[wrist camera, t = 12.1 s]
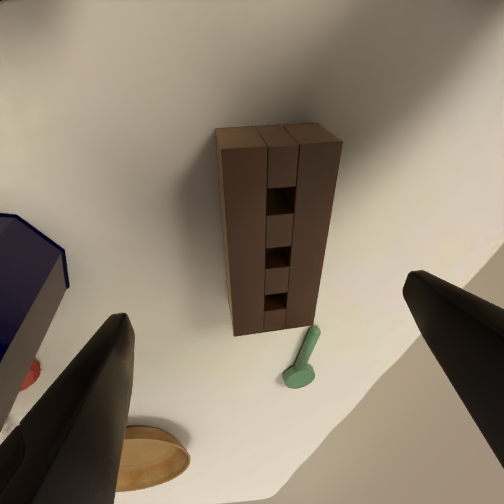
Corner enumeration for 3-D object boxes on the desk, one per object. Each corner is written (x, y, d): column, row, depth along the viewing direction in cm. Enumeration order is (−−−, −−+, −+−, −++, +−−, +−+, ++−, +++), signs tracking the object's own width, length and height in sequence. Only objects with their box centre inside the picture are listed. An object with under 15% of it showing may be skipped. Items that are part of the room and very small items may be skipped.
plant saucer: (168, 471, 46) (167, 492, 44) (57, 470, 40) (50, 494, 38) (207, 420, 39) (208, 443, 37) (80, 410, 33) (73, 436, 31)
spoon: (306, 333, 30) (282, 391, 36) (339, 331, 31) (310, 388, 37) (302, 324, 31) (279, 382, 37) (334, 323, 32) (307, 379, 38)
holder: (318, 122, 20) (343, 141, 16) (299, 291, 28) (313, 325, 25) (215, 127, 19) (220, 149, 16) (228, 300, 27) (233, 337, 24)
